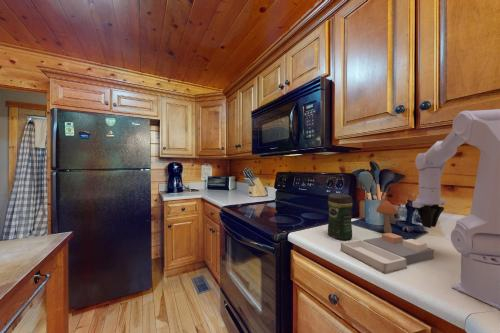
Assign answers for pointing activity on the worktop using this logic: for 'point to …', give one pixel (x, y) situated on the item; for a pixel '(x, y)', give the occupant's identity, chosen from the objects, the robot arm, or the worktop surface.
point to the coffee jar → (340, 216)
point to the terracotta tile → (392, 238)
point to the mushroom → (386, 214)
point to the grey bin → (374, 256)
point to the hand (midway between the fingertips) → (429, 226)
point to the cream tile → (415, 245)
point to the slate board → (403, 250)
